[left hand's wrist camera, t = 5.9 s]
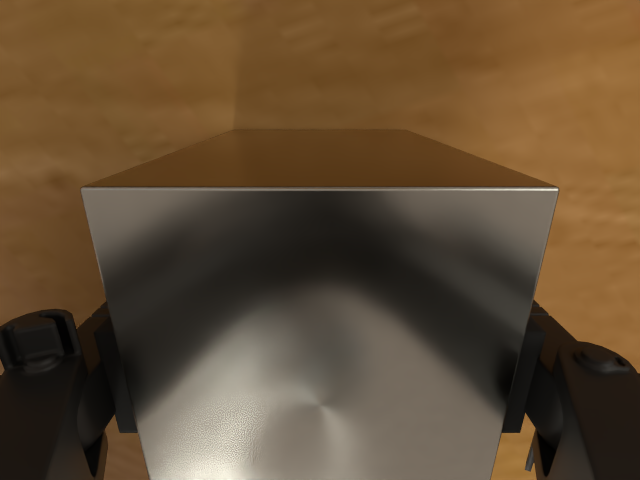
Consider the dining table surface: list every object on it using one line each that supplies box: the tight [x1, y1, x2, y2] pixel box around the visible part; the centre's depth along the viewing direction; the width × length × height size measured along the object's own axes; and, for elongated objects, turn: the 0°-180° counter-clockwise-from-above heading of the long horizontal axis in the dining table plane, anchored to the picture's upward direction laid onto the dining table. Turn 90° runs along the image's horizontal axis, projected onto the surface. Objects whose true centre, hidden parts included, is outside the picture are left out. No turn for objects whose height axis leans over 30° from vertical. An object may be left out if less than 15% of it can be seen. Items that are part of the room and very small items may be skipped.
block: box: [80, 130, 559, 480], centre depth 13 cm, size 8×9×11 cm
